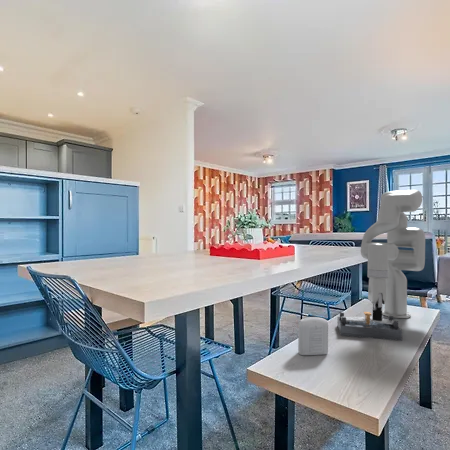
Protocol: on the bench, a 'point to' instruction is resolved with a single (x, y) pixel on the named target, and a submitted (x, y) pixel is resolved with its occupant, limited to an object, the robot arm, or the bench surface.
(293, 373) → the bench surface
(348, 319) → the strap
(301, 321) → the photo printer
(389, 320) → the strap
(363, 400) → the bench surface
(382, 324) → the tray
